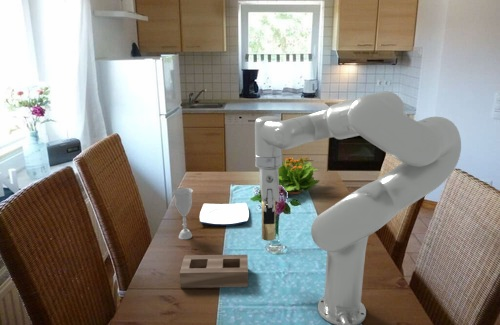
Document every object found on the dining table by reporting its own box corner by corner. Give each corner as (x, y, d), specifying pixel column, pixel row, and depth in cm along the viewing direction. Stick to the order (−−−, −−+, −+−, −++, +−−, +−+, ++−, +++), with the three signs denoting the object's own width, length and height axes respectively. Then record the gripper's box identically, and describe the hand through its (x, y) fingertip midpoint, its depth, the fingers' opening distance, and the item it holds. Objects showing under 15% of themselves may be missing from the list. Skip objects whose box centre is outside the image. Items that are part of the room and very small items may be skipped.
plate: (197, 229, 156) (197, 222, 155) (202, 208, 175) (201, 202, 174) (249, 228, 156) (249, 221, 156) (248, 207, 176) (248, 202, 175)
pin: (275, 240, 117) (275, 202, 113) (262, 240, 117) (261, 202, 113) (274, 234, 121) (274, 197, 117) (261, 234, 121) (261, 197, 117)
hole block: (248, 286, 118) (247, 271, 116) (180, 287, 118) (179, 272, 116) (247, 268, 127) (247, 254, 126) (185, 269, 127) (184, 255, 126)
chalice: (186, 230, 154) (184, 186, 149) (198, 235, 150) (196, 190, 145) (171, 237, 148) (168, 192, 143) (184, 242, 144) (181, 196, 139)
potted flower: (259, 186, 201) (259, 153, 196) (299, 179, 211) (300, 147, 206) (284, 203, 180) (284, 166, 175) (327, 195, 189) (329, 159, 184)
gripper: (284, 169, 104) (284, 232, 109) (279, 152, 120) (278, 209, 125) (256, 169, 104) (256, 233, 109) (254, 153, 120) (254, 209, 125)
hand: (268, 219), depth 117 cm, fingers closed on pin, 4 cm apart
